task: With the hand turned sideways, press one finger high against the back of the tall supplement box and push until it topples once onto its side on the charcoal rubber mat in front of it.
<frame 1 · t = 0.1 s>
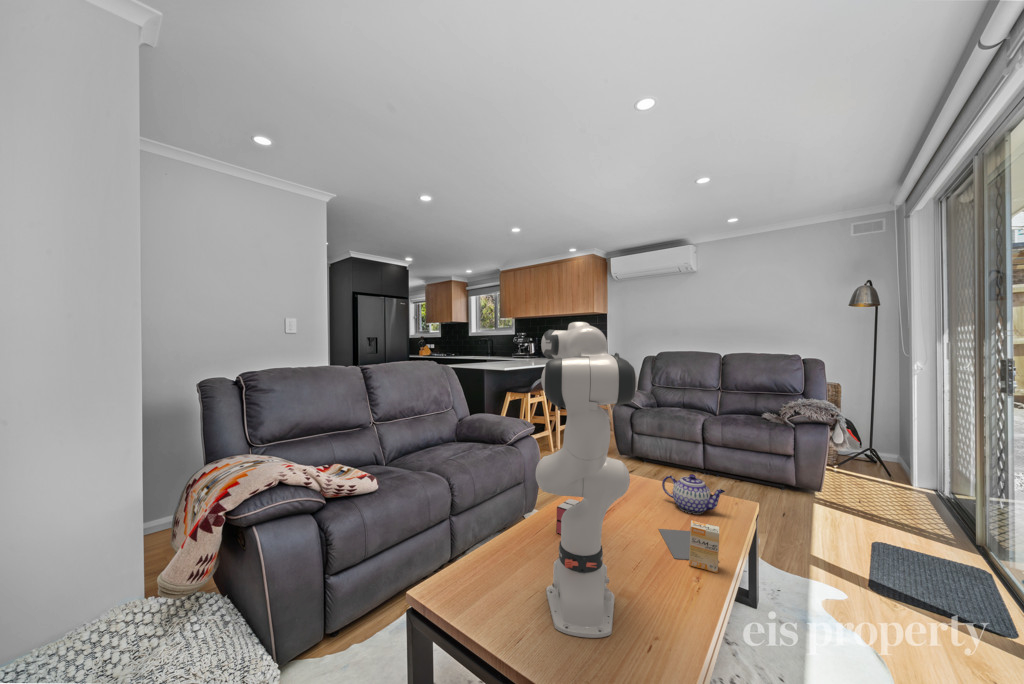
hand: (577, 405, 137), 48 cm above the table, tool pointing down, fingers open, 8 cm apart
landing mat: (686, 544, 135), on the table
teapot: (691, 509, 164), on the table
supplement box: (703, 566, 122), on the table, touching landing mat
puzzle cube: (574, 533, 143), on the table
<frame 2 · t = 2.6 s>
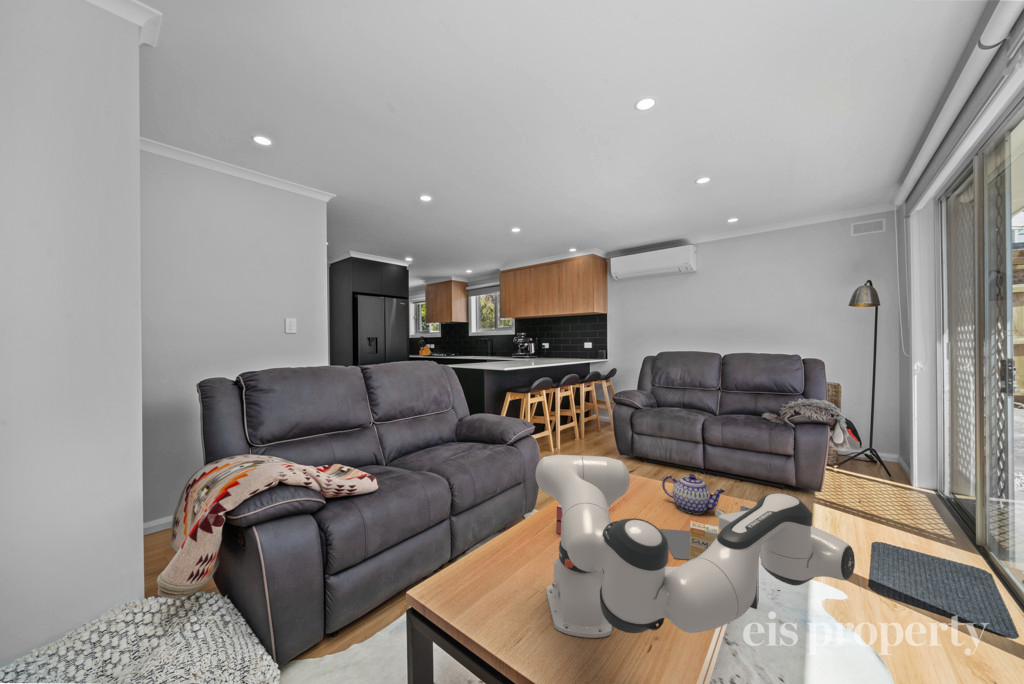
hand: (729, 510, 110), 23 cm above the table, tool horizontal, fingers open, 8 cm apart
nothing on the table moved.
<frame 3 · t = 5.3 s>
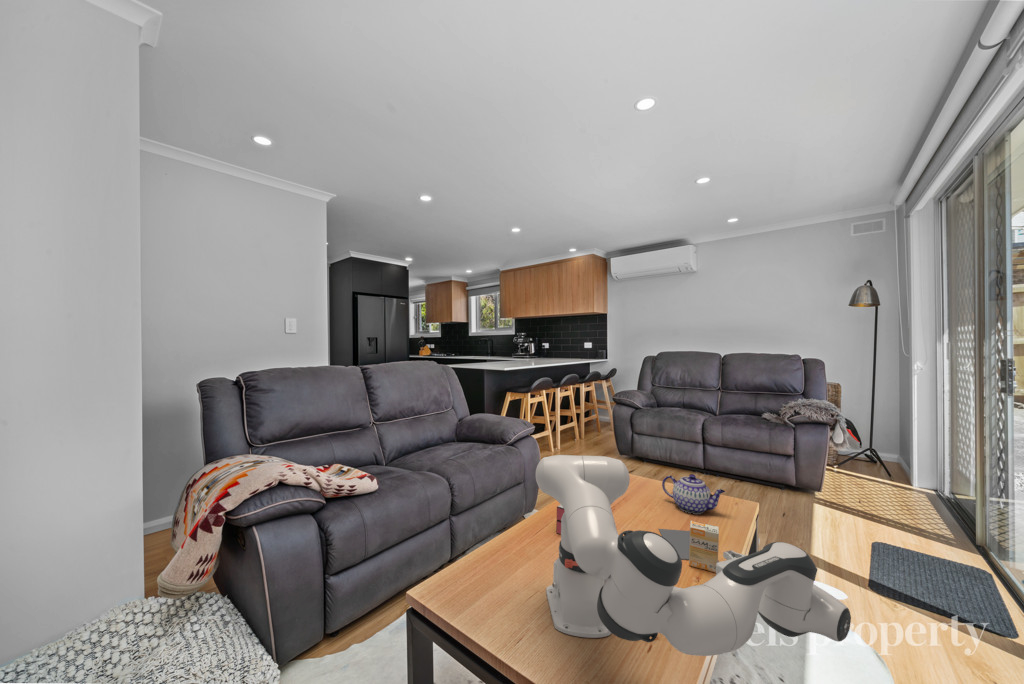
hand: (727, 553, 111), 11 cm above the table, tool horizontal, fingers closed
nothing on the table moved.
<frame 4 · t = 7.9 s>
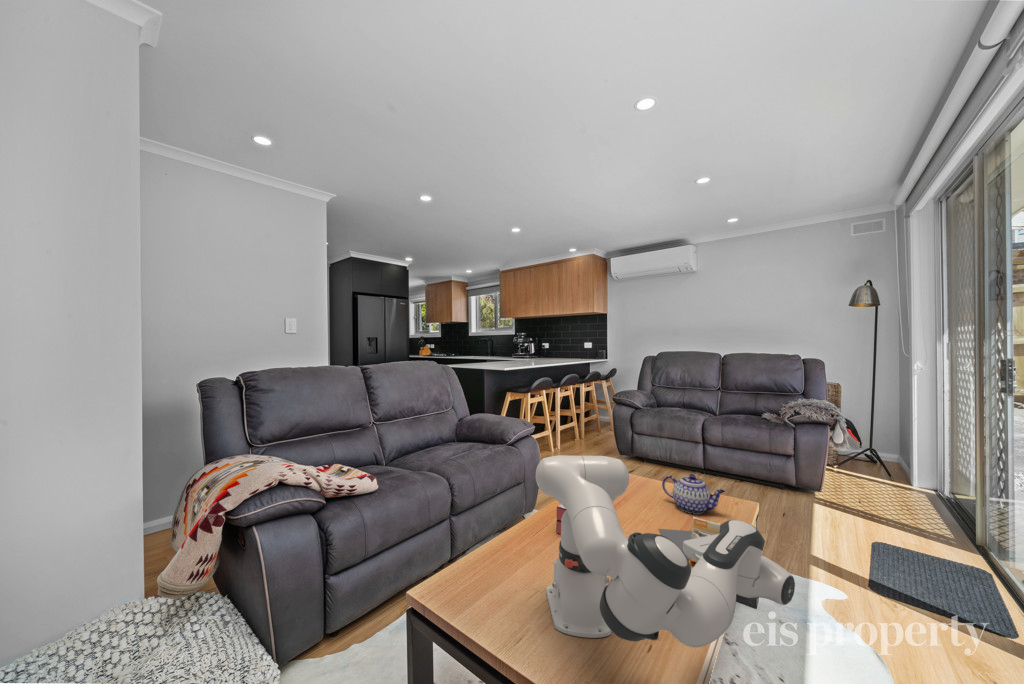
hand: (695, 533, 122), 10 cm above the table, tool horizontal, fingers closed
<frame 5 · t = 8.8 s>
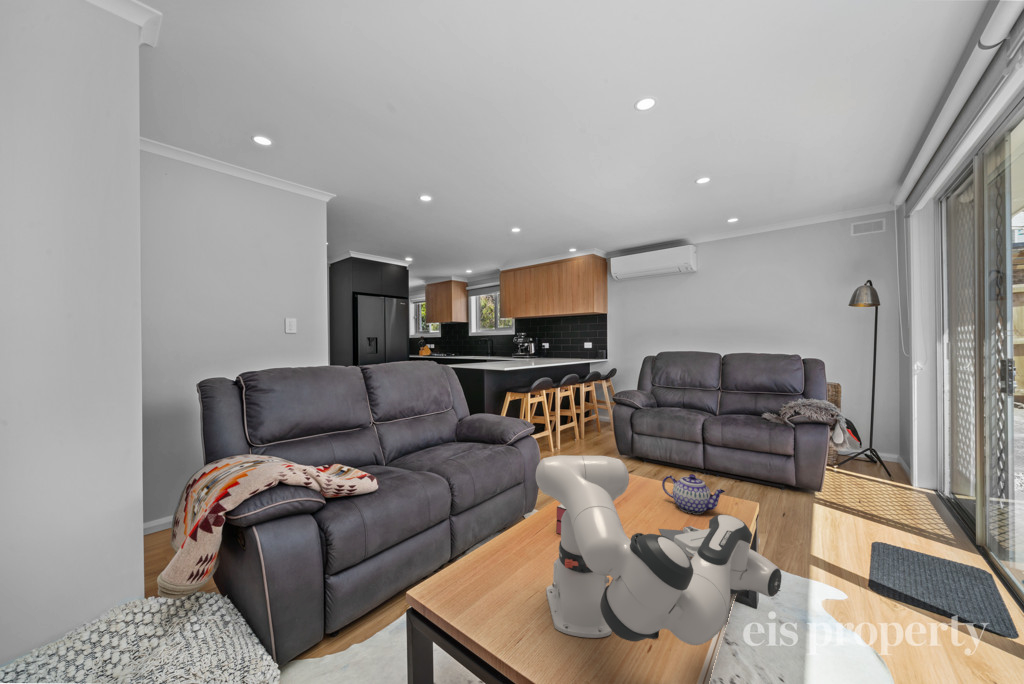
hand: (686, 528, 125), 10 cm above the table, tool horizontal, fingers closed
supplement box: (703, 554, 124), point 3 cm above the table, touching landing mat
everything else where it was.
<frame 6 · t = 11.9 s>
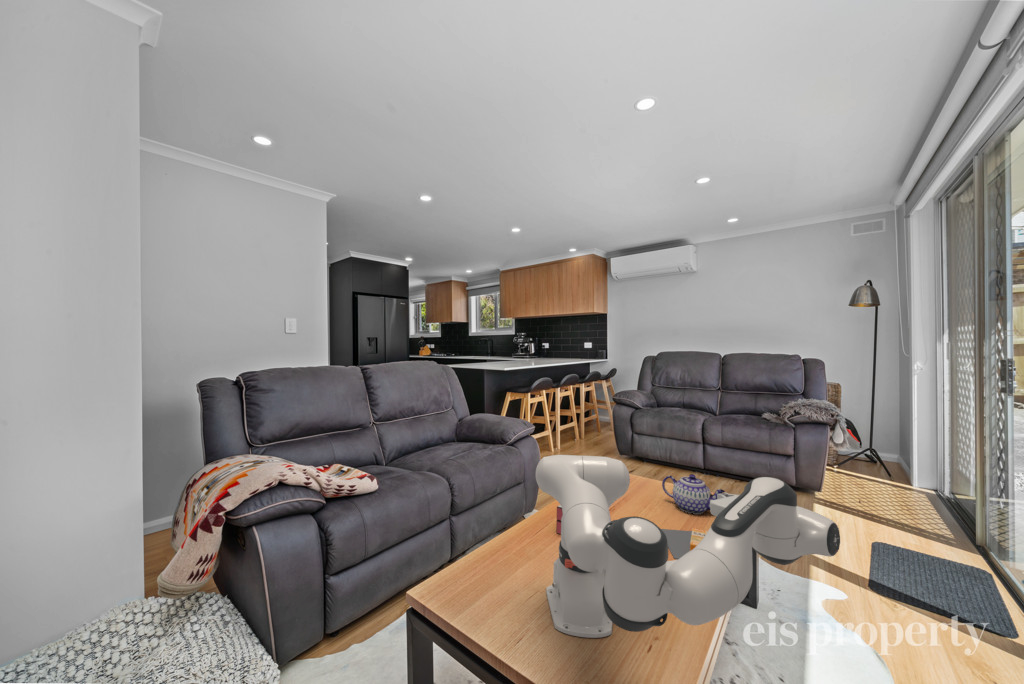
hand: (720, 495, 113), 26 cm above the table, tool horizontal, fingers closed
nothing on the table moved.
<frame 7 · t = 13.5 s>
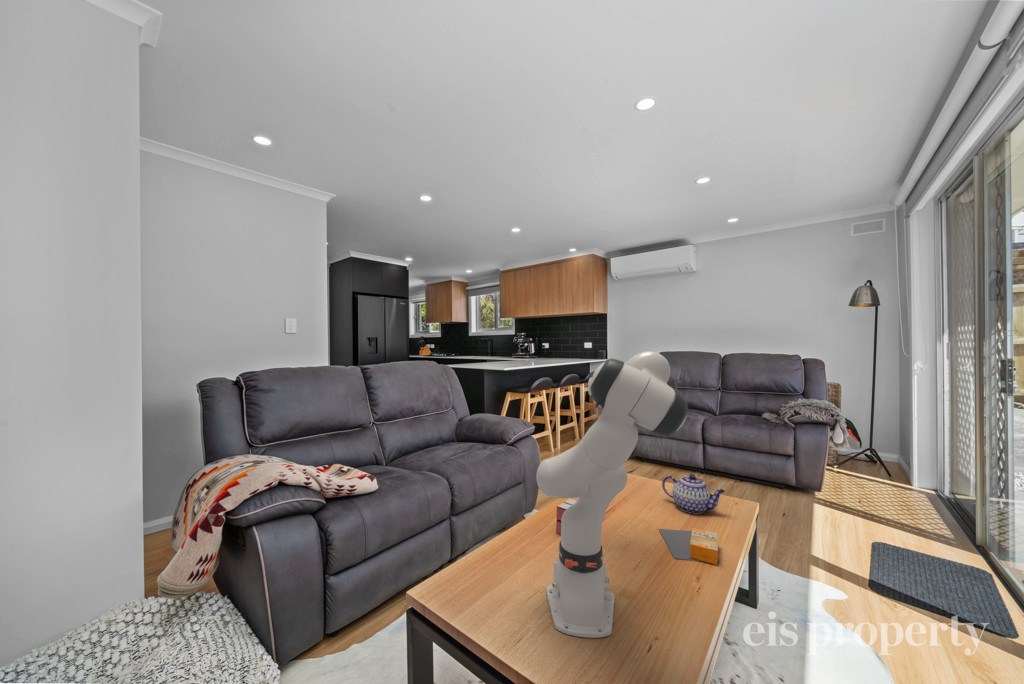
hand: (622, 447, 135), 34 cm above the table, tool pointing down, fingers closed
nothing on the table moved.
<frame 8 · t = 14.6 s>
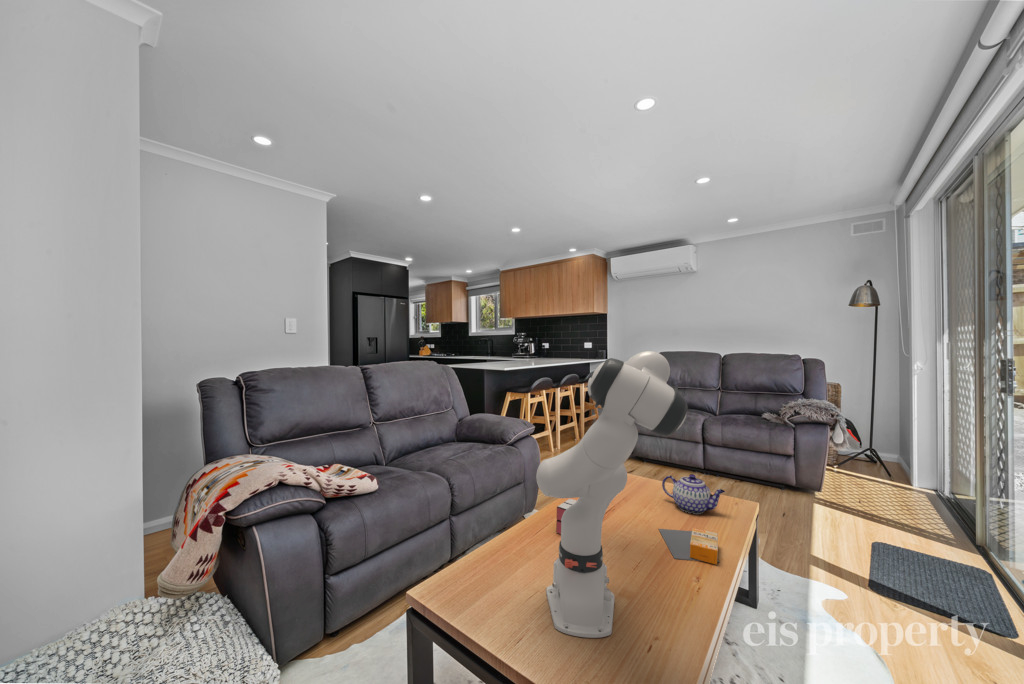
hand: (622, 447, 135), 34 cm above the table, tool pointing down, fingers closed
nothing on the table moved.
at the end: supplement box tilted 90°; supplement box touching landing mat; supplement box inside the target area (3.9 cm from its centre), point 2.7 cm above the table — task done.
